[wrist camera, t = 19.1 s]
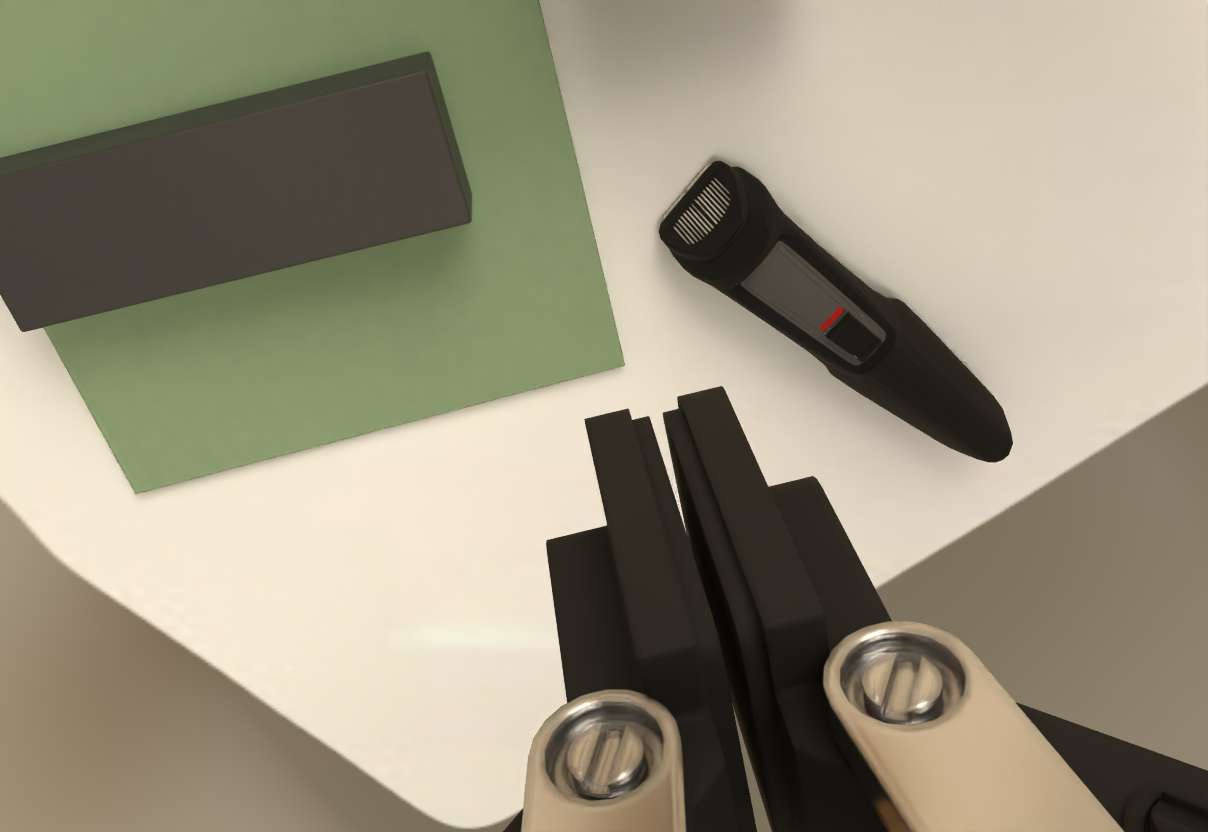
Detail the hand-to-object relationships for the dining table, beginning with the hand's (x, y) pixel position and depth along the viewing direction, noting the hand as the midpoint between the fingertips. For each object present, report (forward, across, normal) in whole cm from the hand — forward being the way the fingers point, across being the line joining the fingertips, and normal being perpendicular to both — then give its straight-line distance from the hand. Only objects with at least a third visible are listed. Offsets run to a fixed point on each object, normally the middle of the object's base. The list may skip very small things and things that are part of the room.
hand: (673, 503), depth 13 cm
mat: (+24, +8, +2) cm, 25 cm away
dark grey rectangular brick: (+22, +10, +2) cm, 24 cm away
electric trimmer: (+24, -9, +11) cm, 28 cm away
